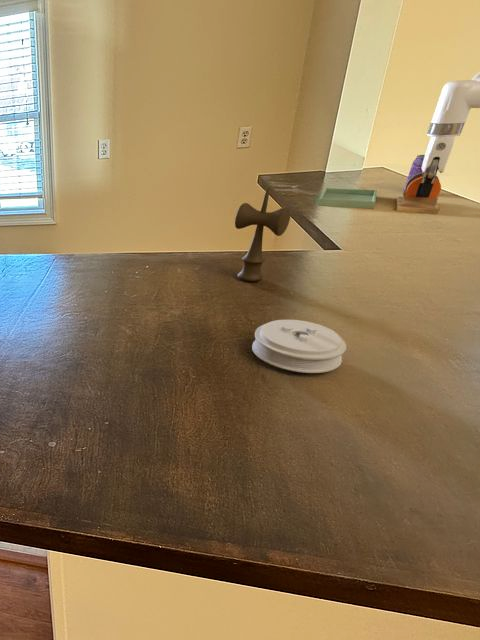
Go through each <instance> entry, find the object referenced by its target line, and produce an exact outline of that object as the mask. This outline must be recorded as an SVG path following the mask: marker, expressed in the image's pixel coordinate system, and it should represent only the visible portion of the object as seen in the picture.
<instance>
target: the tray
mask: <svg viewBox="0 0 480 640" xmlns="http://www.w3.org/2000/svg"><path fill="white" fill-rule="evenodd" d="M377 191H378V189H359V188H358V189H356V188H334V187H333V188H332V187H325V188H324V190H323V192H322V193H321V195H320V198H319V200H318V203H317V206H323V207H337V208H339V207H340V208H341V207H342V208H358V209H374V208H375V204H376V200H377Z"/></svg>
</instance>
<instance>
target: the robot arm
mask: <svg viewBox="0 0 480 640" xmlns="http://www.w3.org/2000/svg"><path fill="white" fill-rule="evenodd" d="M471 109H480V71H478V72H477V73H476V74H475V75H474V76H473V77H472V78H471V79H465V80H464V79H462V80H461V79H460V80H451V81H448V82H446V83H445V84H444V85H443V87H442V89H441V92H440V94H439V98H438V101H437V103H436V106H435V109H434V112H433V114H432V119H431V121H430V124H429V127H428V129H427V132H426V135H425V136H426V137H430V138H429V141H428V145H427V147H426V150H425V153H424V155H425V156H424V160H423V164H422V171H423V173H422V175H421V177H423V179H422V182H421V183H420V184H419V187H418V190H417V193H416V195H415V196H416V197H425V198H428V197H429V195H430V193H431V190H432V187H433V184H434V180H435V177H436V176H437V174H438V172H439V173H440V174H443V173H444V172H445V169H446V167H447V163H448V160H449V158H450V155H451V151H452V149H453V146H454V142H455V139H456V137H458V136H461V135H462V131H463V129H464V126H465V124H466V121H467V118H468V116H469V113H470V110H471Z"/></svg>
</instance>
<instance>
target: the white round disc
mask: <svg viewBox="0 0 480 640" xmlns="http://www.w3.org/2000/svg"><path fill="white" fill-rule="evenodd" d="M254 338H255V340H254V341H253V342H252V345H251V350H252V352H253V353H254V355H255V356H256V357H257V358H259V359H260V360H262V362H263V361H264V362H265V363H267V364H269V365H271V366H274V367H275V368H280V369H283V370H286V371H291V372H296V373H303V374H304V373H305V374H321V373H327V372H331V371H334V370H336V369H338V368H339V367H340V366H341V365H342V363H343V358H342V356H343V355H344V354H345V352H346V350H347V342H346V341H345V339H343V338H342V337H341V336H340V335H339V334H338V333H337V332H336V331H334V330H333V329H331V328H329V327H327V326H325V325H322V324H317V323H315V322H311V321H306V320H299V319H277V320H272V321H269V322H267V323H265V324H264V323H263V324H262V325H260V326H258V327H257V328H256V329H255V331H254Z"/></svg>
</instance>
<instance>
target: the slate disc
mask: <svg viewBox="0 0 480 640" xmlns="http://www.w3.org/2000/svg"><path fill="white" fill-rule="evenodd" d="M422 173H423V172H422ZM422 173H418V174H416V175H414V176H413V177H411V178H410V179H409V181H408V182H407V184H406V183H405V184H406V190H407V187H408V186H409V184H410V183H411V182H412V181H414V180H415V179H417V178H420V177H421V175H422ZM435 178H436V179H438V180H439V181H440V178H439V177H438V176H437V175H436V177H435Z"/></svg>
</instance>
